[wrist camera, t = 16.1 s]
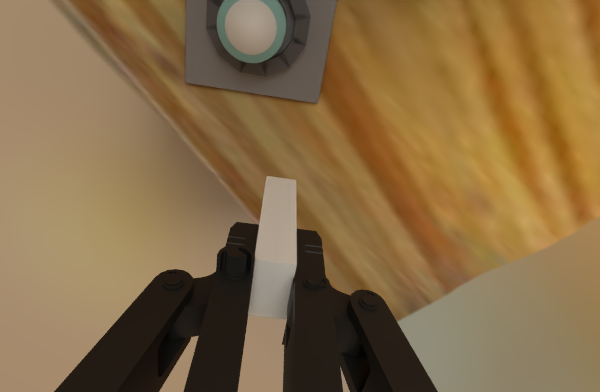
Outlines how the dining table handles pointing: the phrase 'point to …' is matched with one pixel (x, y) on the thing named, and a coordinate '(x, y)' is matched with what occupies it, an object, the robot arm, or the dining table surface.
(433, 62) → the dining table surface
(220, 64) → the square plate with ring
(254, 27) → the cap
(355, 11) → the dining table surface
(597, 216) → the dining table surface
